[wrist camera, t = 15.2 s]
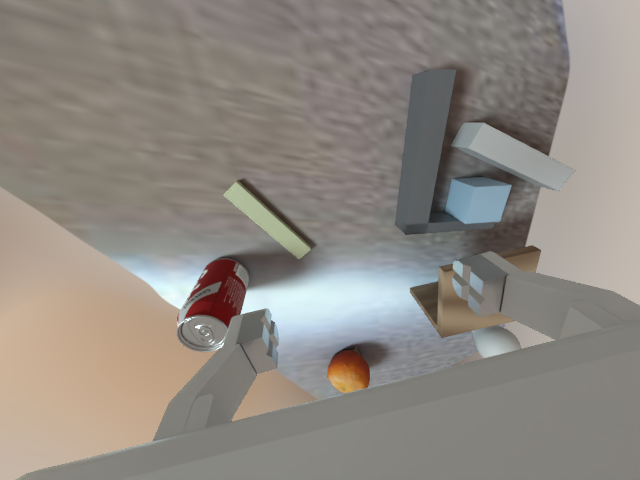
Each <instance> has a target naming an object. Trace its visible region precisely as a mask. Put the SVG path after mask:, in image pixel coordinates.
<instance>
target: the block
mask: <svg viewBox="0 0 640 480" xmlns="http://www.w3.org/2000/svg"><path fill="white" fill-rule="evenodd" d="M511 186H512V185H510V184H506V183H503V182H500V181H496V180H493V179H490V178H486V177H476V178H457V179H452V181H451V185H450V190H449V195H448V199H447V204H446V209H445V212H446V213H448V214H450V215H451V216H453V217H455V218H456V219H458V220H460V221H461V222H463V223H465V224H471V223H485V222H500V220H501V217H502V214H503V210H504V207H505V204H506V201H507V198H508V195H509V192H510V189H511Z"/></svg>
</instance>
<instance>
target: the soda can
mask: <svg viewBox="0 0 640 480" xmlns="http://www.w3.org/2000/svg"><path fill="white" fill-rule="evenodd" d="M248 283H249V274H248V271H247V269H246V268H245V267H244V266H243V265H242V264H241V263H239V262H237V261H235V260H232V259H226V258H222V259H217V260H214V261H212V262H210V263H209V264H208V265H207V266H206V268H205V269H204V271H203V273H202V275H201V276H200V278H199V280H198V281H197V283H196V285H195V286H194V288H193V290H192V292H191V293H190V295H189V297H188V298H187V300H186V302H185V304H184V305H183V307H182V309H181V310H180V312H179V314H178V317H177V323H178V328H177V337H178V339H179V341H180V342H181V343H182V344H183V345H184V346H185V347H187V348H189V349H191V350H195V351H199V352H211V351H215V350H217V349H220V348H221V347H223V345H224V341H225V338H226V335H227V331H228V328H229V325H230V321H231V319H232V317H233V316H237V315H240V313H241V310H242V306H243V302H244V298H245V294H246V291H247V287H248Z"/></svg>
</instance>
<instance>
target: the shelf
mask: <svg viewBox="0 0 640 480" xmlns="http://www.w3.org/2000/svg"><path fill="white" fill-rule="evenodd" d="M540 253H541V250H540V249H538V248H536V247H534V246H528V247H524V248H519V249H515V250H511V251H506V252H502V253H497V255H499V256H500V257H502V258H503V259H505V260H506V261H508V262H509V263H511V264H513V265H514V266H516V267H517V268H519V269H520V270H522V271H523V272H525V271H530V272H536V268H537V264H538V260H539V256H540ZM455 273H456V272H455V271H454V270H453V264H450V265H445V266H441V267H439V281H438V282H434V283H430V284H425V285H421V286H417V287H412V288H410V293H411V294H412V296H413V297H414V299H415V300H416V301H417V303H418V304H419V306H420V307H421V309H422V310H423V312H424V313H425V315H426V316H427V317H428V319H429V320H430V322H431V323H432V325H433V326H434V328H435V329H436V331H437V332H438V333H439V335H440V336H441V338H443V337H447V336H452V335H456V334H460V333H465V332H469V331H473V330H478V329H482V328H486V327H491V326H495V325H499V324H504V323H508V322H512V321H515V320H513V319H511V318H509V317H507V316H505V315H503V314H500V313H501V312H500V313H496V314H491V315H487V316H482V317H478V315H477V314H476V313H475V312H474V311H473V310H472V309H471V308H470V307H469V306H468V301H467V300H464V299H462V298H460V297H459V295H458V294H457V293H456V291H455V290H454V287H453V284H452V277H453V276H454V274H455Z"/></svg>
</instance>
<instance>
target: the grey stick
mask: <svg viewBox="0 0 640 480" xmlns="http://www.w3.org/2000/svg"><path fill="white" fill-rule="evenodd" d="M451 146H452V147H455V148H457V149H459V150H461V151H463V152H465V153H467V154H470V155H472V156H474V157H476V158H478V159H480V160H482V161H484V162H487V163H489V164H491V165H493V166H495V167H497V168H499V169H502V170H504V171H506V172H508V173H510V174H512V175H514V176H517V177H519V178H521V179H523V180H525V181H527V182H529V183H531V184H534V185H537V186H540V187H545V188H548V189H552V190H556V191H560V189H561V188H562V187H563V186H564V184H565V183H566V182H567V181H568V179H569V178H570V177H571V175H572V174H573V173H574V171H575V170H574V169H572V168H570V167H568V166H566V165H564V164H562V163H560V162H558V161H556V160H555V159H553V158H551V157H549V156H547V155H545V154H543V153H541V152H539V151H537V150H535V149H533V148H531V147H530V146H528V145H526V144H524V143H522V142H520V141H518V140H516V139H514V138H512V137H510V136H508V135H506V134H505V133H503V132H501V131H499V130H497V129H495V128H493V127H491V126H489V125H487V124H485V123H463V124H462V126H461V128H460V129H459V131H458V133H457V135H456V137H455V138H454V140H453V142H452V144H451Z"/></svg>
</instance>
